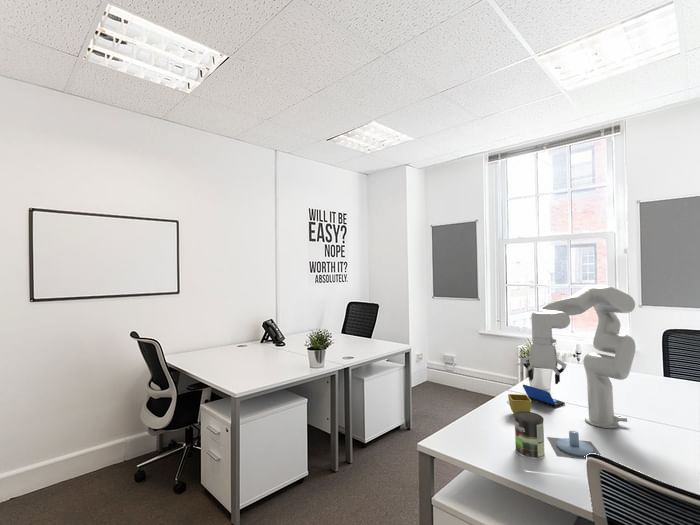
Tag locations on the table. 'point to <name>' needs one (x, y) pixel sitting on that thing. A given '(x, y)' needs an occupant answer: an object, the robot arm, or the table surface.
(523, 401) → the flower pot
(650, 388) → the table surface
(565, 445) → the lid
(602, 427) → the robot arm
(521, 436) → the coffee can
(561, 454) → the mat
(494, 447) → the table surface
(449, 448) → the table surface
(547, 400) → the handheld game console
